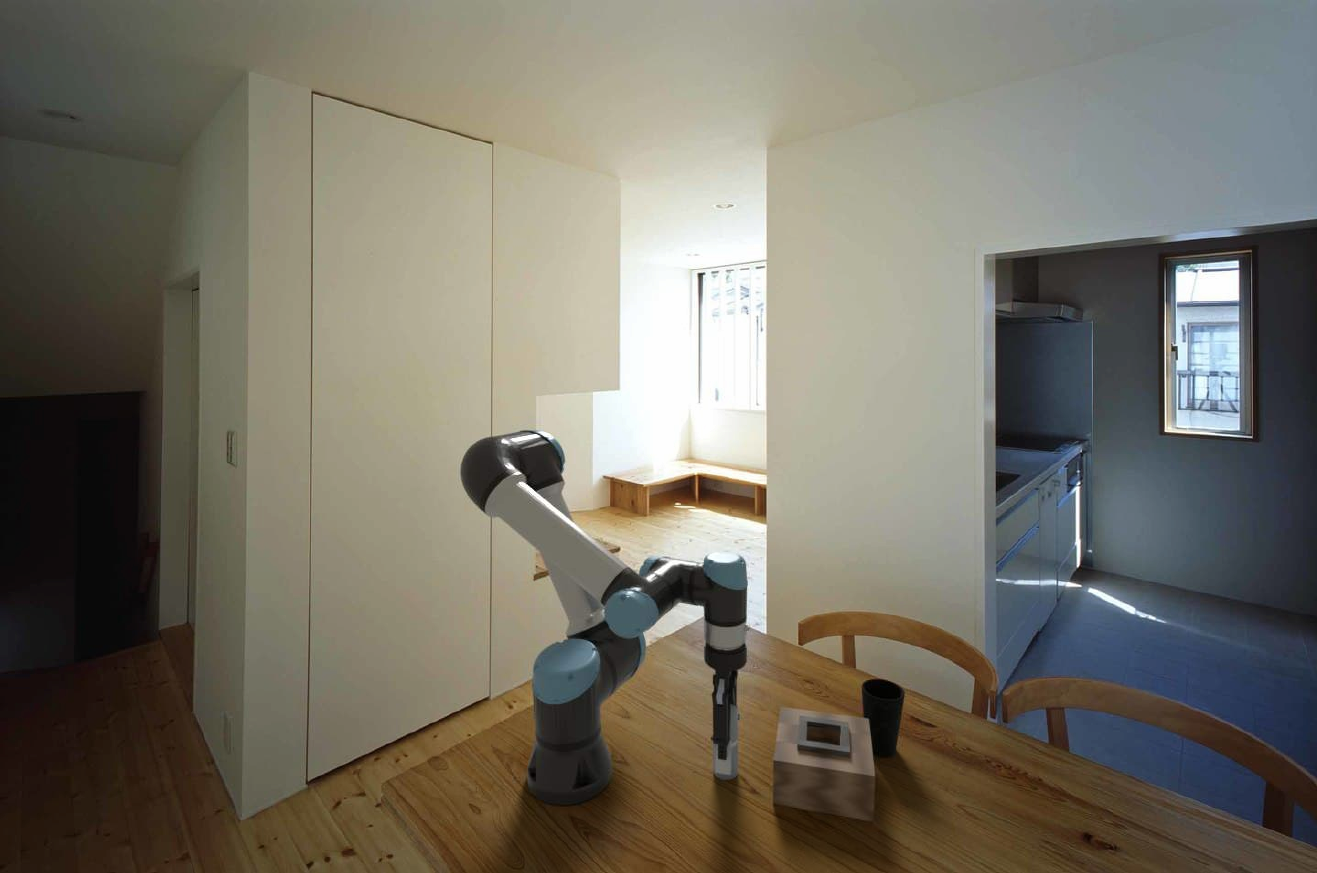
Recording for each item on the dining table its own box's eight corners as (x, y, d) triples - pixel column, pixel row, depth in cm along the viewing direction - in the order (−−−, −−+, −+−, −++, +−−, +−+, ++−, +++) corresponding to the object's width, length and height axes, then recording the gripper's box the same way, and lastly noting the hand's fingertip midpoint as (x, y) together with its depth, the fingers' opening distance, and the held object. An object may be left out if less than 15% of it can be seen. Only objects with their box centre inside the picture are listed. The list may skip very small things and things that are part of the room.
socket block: (773, 804, 102) (773, 754, 101) (780, 745, 117) (780, 701, 116) (873, 822, 98) (875, 770, 97) (867, 758, 113) (868, 713, 112)
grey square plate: (809, 759, 105) (809, 755, 105) (810, 743, 110) (810, 739, 110) (837, 763, 104) (837, 759, 104) (836, 747, 109) (836, 743, 108)
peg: (711, 777, 109) (710, 715, 107) (715, 761, 113) (715, 701, 112) (736, 782, 108) (736, 719, 106) (739, 765, 112) (739, 704, 110)
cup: (905, 763, 112) (908, 702, 110) (862, 758, 113) (864, 698, 112) (897, 738, 119) (900, 680, 118) (856, 733, 121) (859, 676, 119)
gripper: (739, 668, 98) (739, 800, 101) (752, 622, 114) (752, 737, 117) (694, 662, 100) (695, 793, 103) (713, 618, 116) (713, 731, 119)
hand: (725, 763), depth 110 cm, fingers closed on peg, 4 cm apart
